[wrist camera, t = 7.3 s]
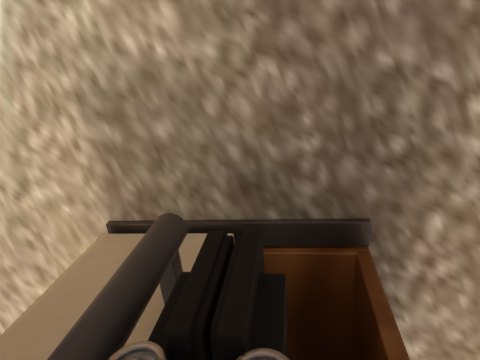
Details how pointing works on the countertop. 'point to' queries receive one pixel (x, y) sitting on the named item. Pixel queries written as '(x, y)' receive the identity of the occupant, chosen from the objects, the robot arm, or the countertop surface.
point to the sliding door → (105, 296)
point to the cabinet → (318, 285)
